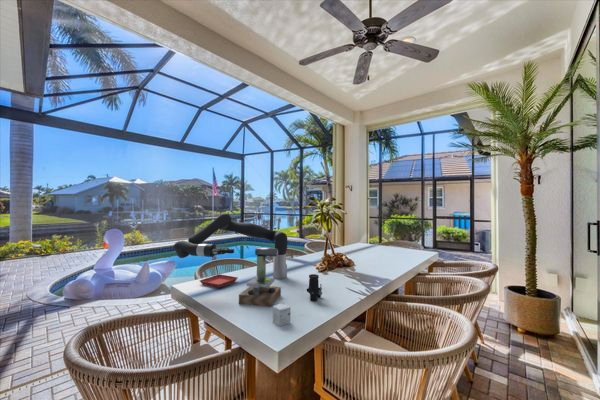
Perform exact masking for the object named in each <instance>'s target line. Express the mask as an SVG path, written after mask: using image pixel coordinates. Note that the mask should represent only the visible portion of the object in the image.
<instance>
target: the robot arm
mask: <svg viewBox="0 0 600 400" xmlns="http://www.w3.org/2000/svg"><path fill="white" fill-rule="evenodd" d="M218 230H222V231H227V232H234V233H237V234H241V235H243V236H247V237H250V238H254V239H262V240H263V239H264V240H267V241H270V242H273V243H274V248H276V249H278V256H277V257H274V256H272V257H273V258H272V259H273V263H272V266H273V267H272V269H273V270H272V271H273V272H272V278H275V280H283V279H286V278H288V264H287V251H288V236H287V234H286V233H285V232H283V231H279V230H272V229H268V228H266V227H264V226H261V225H259V224H256V223H252V222H239V221H238V222H237V221H233V220H232V217H231V215H230V214H228V213H221V214H219V215H218V216H217V217H216V218H215V219H214V220H213V221H212V222H210V223H209V224H208V225H207V226H205V227H204V228H201V229H200V230H199V231H197V232H195V233H194V234H192V235H191V236H190V237H188V240H187V241H186V240H179V241H176V242H175V243H174V244H173V249H174V251H175V254H176V255H177V258H179V259H185V258H187V257H188V256H189V255H190V256H192V257H200V258H204V257H205V258H215V256H220V255H226V254H234V253H235V249H234V248H229V247H227V246H218V247H217V245H216V244H214V243H203V242H205V241H206V240H208V238H210V237H211V236H212V235H213V234H214V233H216V232H217V231H218Z"/></svg>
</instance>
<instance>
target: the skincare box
mask: <svg viewBox="0 0 600 400" xmlns="http://www.w3.org/2000/svg"><path fill="white" fill-rule="evenodd" d="M291 307H292V306H289V305H288V304H287V303H284V302H283V303H279V304H278V303H277V304H275V305H274V304H273V305H272V322H273V323H274V324H276V325H277V326H278V327H281V326H285V325H289V324H291V313H292V312H291V310H292V309H291Z"/></svg>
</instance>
